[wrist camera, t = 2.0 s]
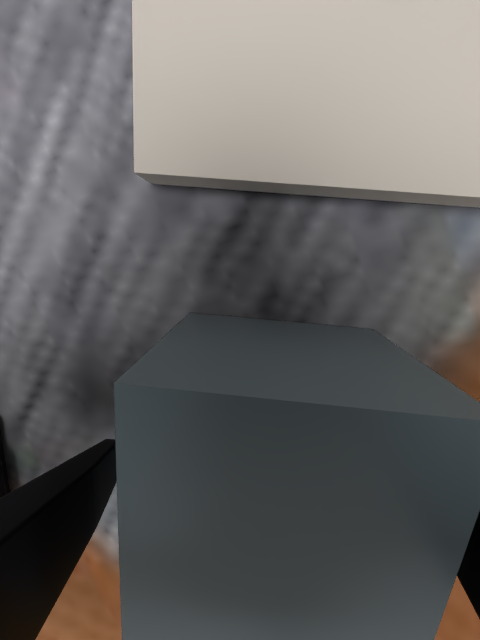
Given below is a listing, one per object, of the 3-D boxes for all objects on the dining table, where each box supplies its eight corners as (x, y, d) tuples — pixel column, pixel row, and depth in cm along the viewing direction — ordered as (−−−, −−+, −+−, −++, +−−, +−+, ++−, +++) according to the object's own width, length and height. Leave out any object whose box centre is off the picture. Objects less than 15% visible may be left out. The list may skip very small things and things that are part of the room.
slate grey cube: (184, 464, 13) (122, 646, 7) (189, 312, 11) (113, 383, 5) (342, 482, 12) (416, 687, 7) (373, 329, 11) (510, 423, 5)
